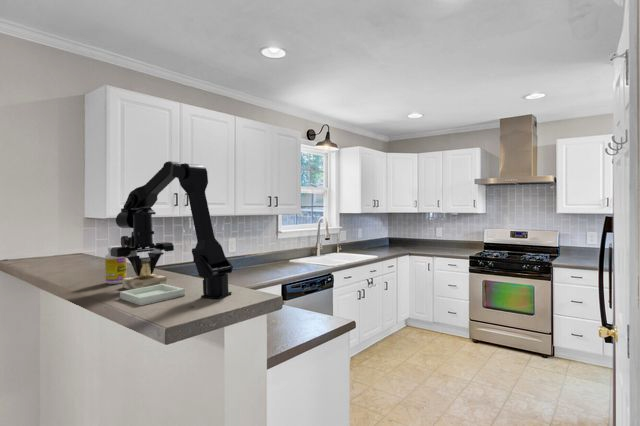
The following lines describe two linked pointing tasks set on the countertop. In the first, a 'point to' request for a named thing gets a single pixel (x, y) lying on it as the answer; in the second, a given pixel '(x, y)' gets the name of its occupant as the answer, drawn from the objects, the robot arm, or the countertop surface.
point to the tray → (151, 294)
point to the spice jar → (145, 268)
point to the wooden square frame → (143, 281)
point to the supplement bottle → (115, 268)
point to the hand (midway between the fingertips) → (144, 274)
